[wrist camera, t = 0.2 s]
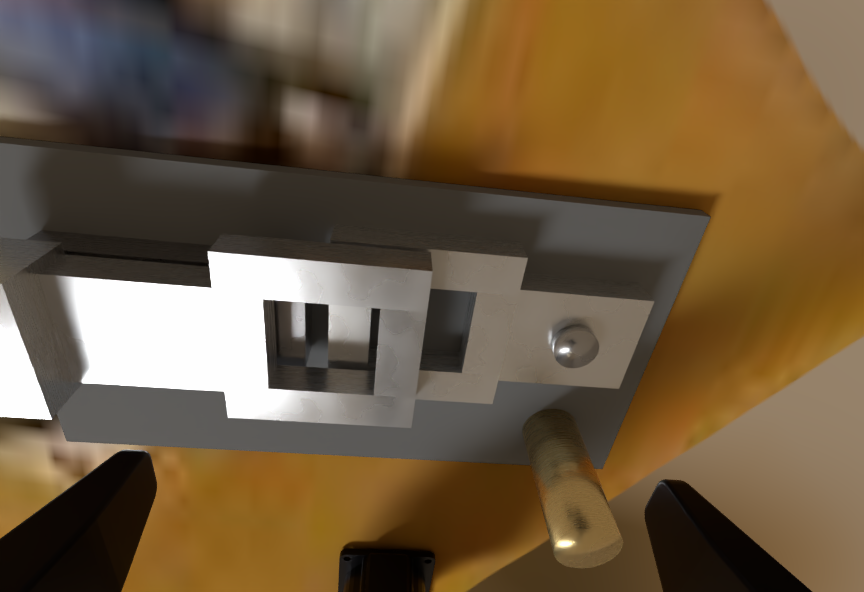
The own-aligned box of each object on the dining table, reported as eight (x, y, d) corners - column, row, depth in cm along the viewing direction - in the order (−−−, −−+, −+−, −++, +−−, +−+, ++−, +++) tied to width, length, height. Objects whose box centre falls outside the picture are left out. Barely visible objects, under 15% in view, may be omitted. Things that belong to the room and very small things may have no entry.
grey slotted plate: (599, 389, 26) (613, 420, 24) (79, 355, 24) (50, 385, 22) (650, 254, 22) (673, 277, 20) (30, 195, 20) (-10, 215, 18)
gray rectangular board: (597, 458, 30) (602, 468, 29) (75, 430, 27) (66, 441, 26) (701, 210, 22) (710, 216, 21) (-26, 133, 19) (-42, 138, 18)
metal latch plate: (411, 403, 23) (411, 456, 21) (30, 379, 22) (-24, 433, 19) (430, 252, 19) (434, 293, 17) (-33, 209, 18) (-114, 247, 15)
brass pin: (568, 448, 28) (611, 569, 22) (517, 446, 28) (546, 567, 22) (582, 410, 27) (632, 528, 21) (528, 407, 26) (563, 525, 20)
